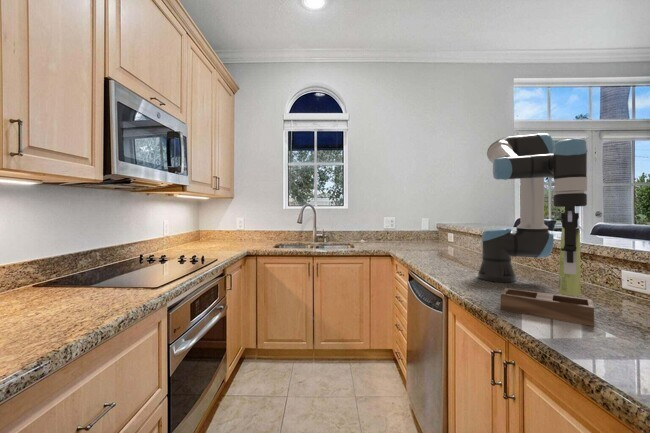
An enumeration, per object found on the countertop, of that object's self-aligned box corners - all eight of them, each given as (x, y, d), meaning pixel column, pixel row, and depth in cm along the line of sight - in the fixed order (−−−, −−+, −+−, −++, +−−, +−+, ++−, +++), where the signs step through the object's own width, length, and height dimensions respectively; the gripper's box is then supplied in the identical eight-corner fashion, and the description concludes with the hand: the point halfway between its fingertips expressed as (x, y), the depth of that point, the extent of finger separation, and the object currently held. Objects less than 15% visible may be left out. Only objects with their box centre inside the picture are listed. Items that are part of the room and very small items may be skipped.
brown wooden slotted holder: (505, 302, 101) (505, 287, 101) (591, 315, 87) (591, 299, 87) (500, 309, 94) (500, 294, 94) (594, 326, 80) (594, 307, 80)
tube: (586, 295, 86) (585, 228, 85) (579, 298, 83) (579, 229, 82) (562, 291, 90) (561, 227, 90) (555, 294, 88) (555, 228, 87)
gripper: (554, 195, 96) (554, 266, 96) (552, 192, 81) (552, 275, 82) (585, 193, 91) (585, 268, 91) (588, 190, 77) (588, 279, 77)
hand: (569, 271), depth 87 cm, fingers closed on tube, 6 cm apart
